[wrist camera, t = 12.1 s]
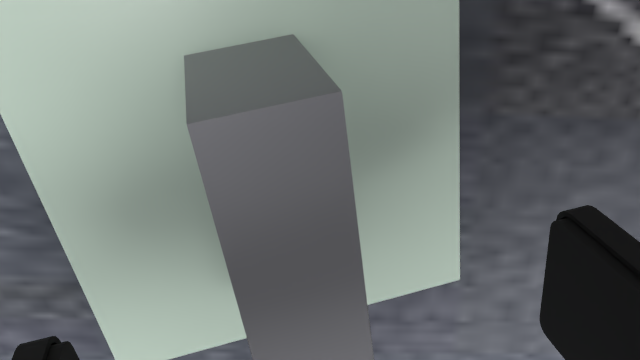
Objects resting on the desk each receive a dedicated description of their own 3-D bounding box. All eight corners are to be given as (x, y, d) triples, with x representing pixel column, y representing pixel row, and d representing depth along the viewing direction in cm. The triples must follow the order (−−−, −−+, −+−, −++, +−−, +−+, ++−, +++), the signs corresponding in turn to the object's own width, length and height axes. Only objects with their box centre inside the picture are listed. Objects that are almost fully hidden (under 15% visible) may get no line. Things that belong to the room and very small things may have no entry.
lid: (442, -93, 15) (583, -88, 10) (448, 264, 21) (535, 381, 16) (-40, -11, 13) (-182, 48, 8) (123, 351, 19) (104, 515, 14)
